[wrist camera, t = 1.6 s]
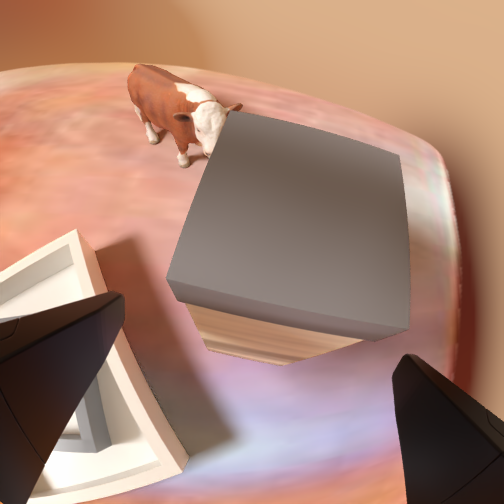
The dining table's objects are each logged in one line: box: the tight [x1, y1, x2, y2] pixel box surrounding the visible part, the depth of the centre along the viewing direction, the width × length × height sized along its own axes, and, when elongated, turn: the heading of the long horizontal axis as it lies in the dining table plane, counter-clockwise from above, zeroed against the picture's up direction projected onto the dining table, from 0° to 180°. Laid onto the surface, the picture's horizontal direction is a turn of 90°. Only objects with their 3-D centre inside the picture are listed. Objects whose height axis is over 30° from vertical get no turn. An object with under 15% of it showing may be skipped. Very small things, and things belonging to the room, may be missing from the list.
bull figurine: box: [128, 64, 243, 168], centre depth 21 cm, size 4×13×8 cm, turn 41°
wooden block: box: [166, 110, 410, 366], centre depth 13 cm, size 5×5×14 cm
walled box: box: [0, 229, 189, 504], centre depth 14 cm, size 16×14×4 cm
